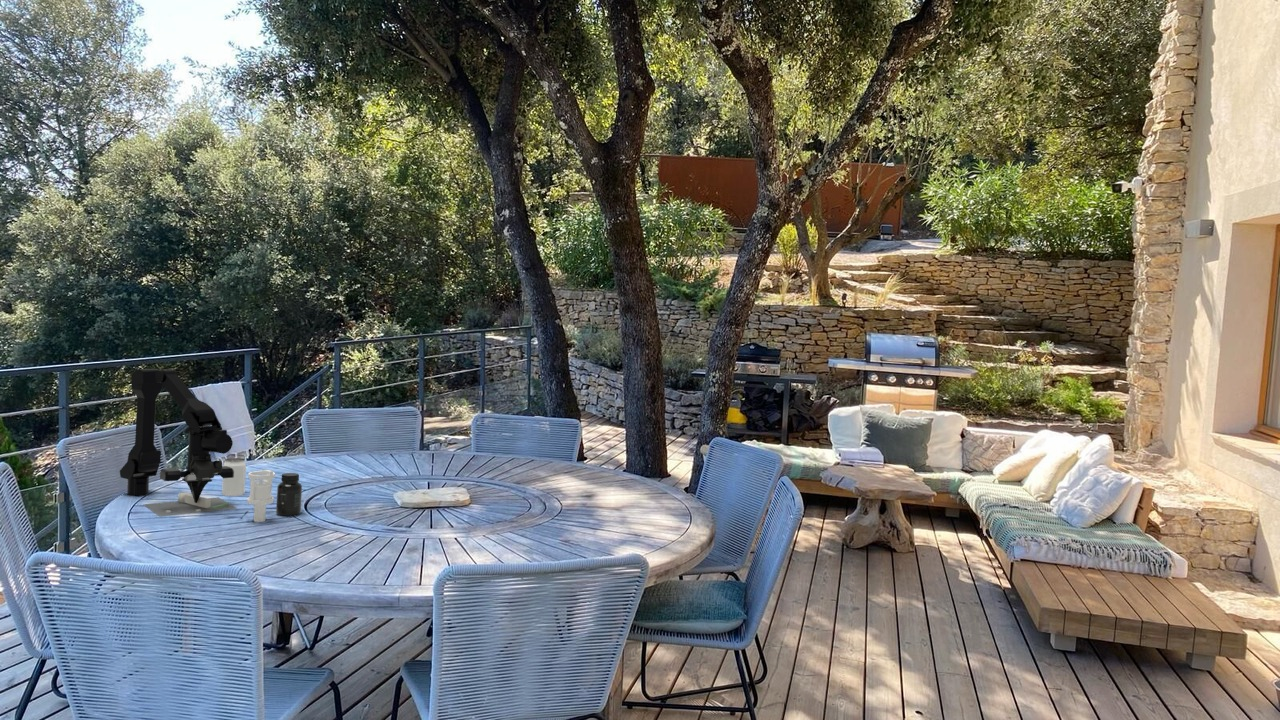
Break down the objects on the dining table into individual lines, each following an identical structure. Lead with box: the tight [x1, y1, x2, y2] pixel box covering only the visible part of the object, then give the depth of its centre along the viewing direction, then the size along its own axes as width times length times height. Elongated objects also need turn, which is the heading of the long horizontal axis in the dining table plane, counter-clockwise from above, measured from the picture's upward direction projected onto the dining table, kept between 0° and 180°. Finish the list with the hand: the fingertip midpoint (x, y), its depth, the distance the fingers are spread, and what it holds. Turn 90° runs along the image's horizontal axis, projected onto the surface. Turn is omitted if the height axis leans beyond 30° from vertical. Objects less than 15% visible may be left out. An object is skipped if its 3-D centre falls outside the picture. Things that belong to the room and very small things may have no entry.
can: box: [221, 457, 247, 497], centre depth 271 cm, size 6×6×12 cm
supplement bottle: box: [275, 472, 303, 517], centre depth 256 cm, size 7×7×12 cm
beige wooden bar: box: [177, 492, 211, 508], centre depth 254 cm, size 13×3×2 cm, turn 63°
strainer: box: [246, 469, 276, 523], centre depth 246 cm, size 7×7×15 cm
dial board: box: [142, 497, 238, 518], centre depth 252 cm, size 16×21×2 cm
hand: (195, 502), depth 252 cm, fingers closed
